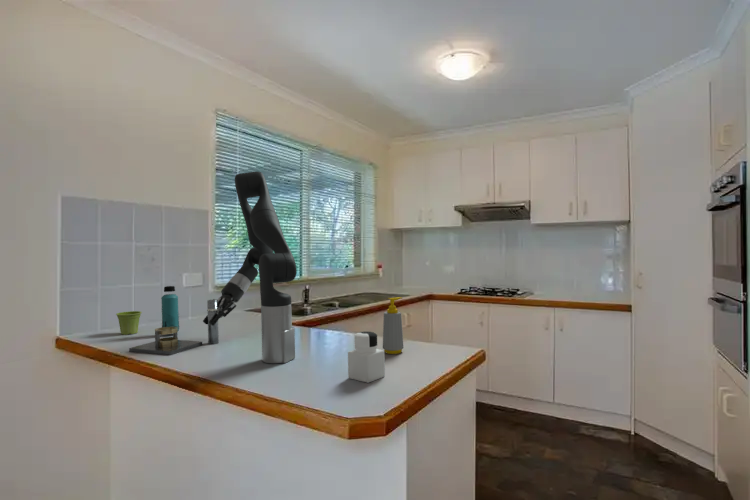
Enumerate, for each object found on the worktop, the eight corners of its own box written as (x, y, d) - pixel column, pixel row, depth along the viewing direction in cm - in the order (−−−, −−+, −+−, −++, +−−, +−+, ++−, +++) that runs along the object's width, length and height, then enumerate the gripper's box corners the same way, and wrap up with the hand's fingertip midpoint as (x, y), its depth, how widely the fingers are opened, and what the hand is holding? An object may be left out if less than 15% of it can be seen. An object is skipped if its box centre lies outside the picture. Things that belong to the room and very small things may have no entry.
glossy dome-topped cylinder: (220, 342, 160) (220, 299, 160) (214, 344, 157) (213, 300, 156) (212, 341, 161) (211, 299, 161) (205, 344, 158) (204, 300, 158)
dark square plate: (202, 344, 156) (201, 325, 156) (170, 355, 142) (169, 334, 142) (163, 342, 162) (163, 323, 162) (129, 351, 148) (128, 331, 148)
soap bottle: (407, 353, 140) (406, 298, 139) (387, 355, 137) (386, 299, 137) (398, 348, 146) (397, 295, 146) (379, 350, 143) (378, 297, 143)
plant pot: (147, 331, 185) (146, 311, 184) (131, 335, 175) (131, 314, 175) (127, 331, 186) (126, 311, 186) (111, 335, 176) (110, 314, 176)
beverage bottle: (182, 333, 179) (181, 285, 179) (173, 336, 172) (172, 286, 172) (167, 333, 179) (166, 285, 179) (158, 336, 173) (157, 286, 173)
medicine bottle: (365, 371, 120) (364, 329, 120) (385, 376, 115) (384, 331, 115) (347, 378, 114) (346, 333, 114) (368, 383, 110) (367, 336, 110)
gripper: (220, 280, 169) (191, 315, 160) (240, 282, 160) (211, 319, 151) (232, 292, 173) (204, 327, 164) (253, 294, 164) (225, 331, 155)
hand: (208, 323), depth 157 cm, fingers closed on glossy dome-topped cylinder, 3 cm apart
